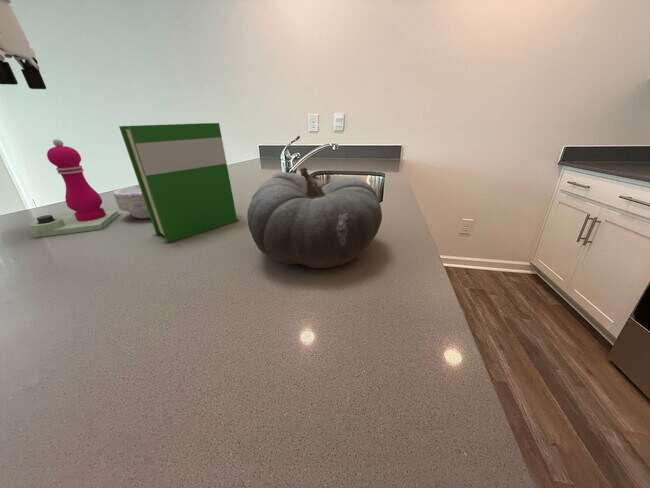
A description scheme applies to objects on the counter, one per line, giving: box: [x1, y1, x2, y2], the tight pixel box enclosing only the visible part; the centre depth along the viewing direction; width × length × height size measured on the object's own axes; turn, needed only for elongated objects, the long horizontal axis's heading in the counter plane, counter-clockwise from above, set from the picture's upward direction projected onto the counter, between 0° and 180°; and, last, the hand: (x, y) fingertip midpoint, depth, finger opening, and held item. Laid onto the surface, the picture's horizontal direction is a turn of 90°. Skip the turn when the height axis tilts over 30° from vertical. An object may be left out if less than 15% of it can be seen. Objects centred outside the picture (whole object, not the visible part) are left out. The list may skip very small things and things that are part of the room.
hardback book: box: [118, 122, 238, 244], centre depth 61 cm, size 18×7×24 cm, turn 139°
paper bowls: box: [113, 184, 151, 219], centre depth 75 cm, size 15×15×8 cm
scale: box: [30, 209, 120, 238], centre depth 69 cm, size 14×12×3 cm
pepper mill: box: [46, 138, 106, 221], centre depth 67 cm, size 7×7×20 cm
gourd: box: [246, 166, 383, 269], centre depth 50 cm, size 25×25×17 cm
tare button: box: [36, 214, 55, 224], centre depth 64 cm, size 3×3×2 cm
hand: (24, 86), depth 59 cm, fingers open, 9 cm apart
